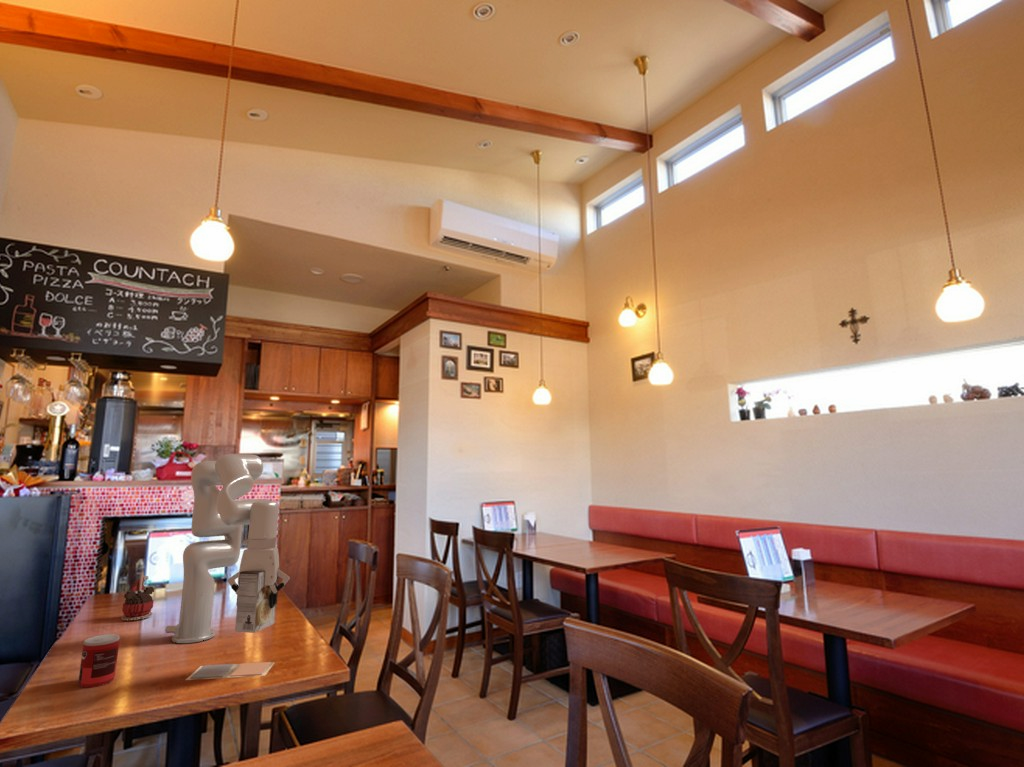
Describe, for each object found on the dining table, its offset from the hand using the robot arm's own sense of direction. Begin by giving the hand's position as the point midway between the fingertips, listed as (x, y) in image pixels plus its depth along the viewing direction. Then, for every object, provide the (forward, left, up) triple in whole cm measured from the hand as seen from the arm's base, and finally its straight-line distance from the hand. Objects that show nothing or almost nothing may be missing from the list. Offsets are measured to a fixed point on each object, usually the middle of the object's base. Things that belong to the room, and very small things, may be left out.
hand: (256, 607), depth 148 cm
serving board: (-5, 0, -18) cm, 18 cm away
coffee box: (0, 0, -6) cm, 6 cm away
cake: (-60, +65, -18) cm, 90 cm away
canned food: (-39, +1, -18) cm, 43 cm away
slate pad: (-10, 0, -17) cm, 19 cm away
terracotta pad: (0, 0, -17) cm, 17 cm away
